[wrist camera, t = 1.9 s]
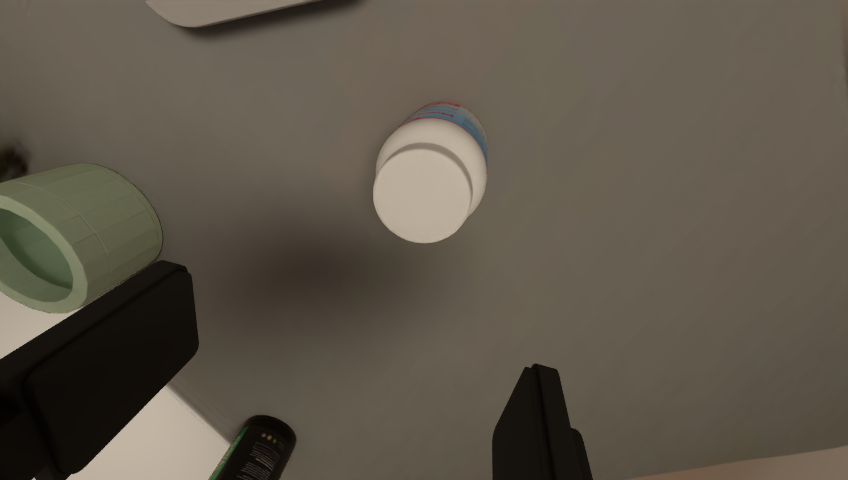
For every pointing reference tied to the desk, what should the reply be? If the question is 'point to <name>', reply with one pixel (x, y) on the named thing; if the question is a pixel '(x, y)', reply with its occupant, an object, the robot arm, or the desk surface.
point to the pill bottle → (431, 173)
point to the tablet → (216, 10)
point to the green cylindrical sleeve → (72, 236)
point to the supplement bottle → (257, 451)
